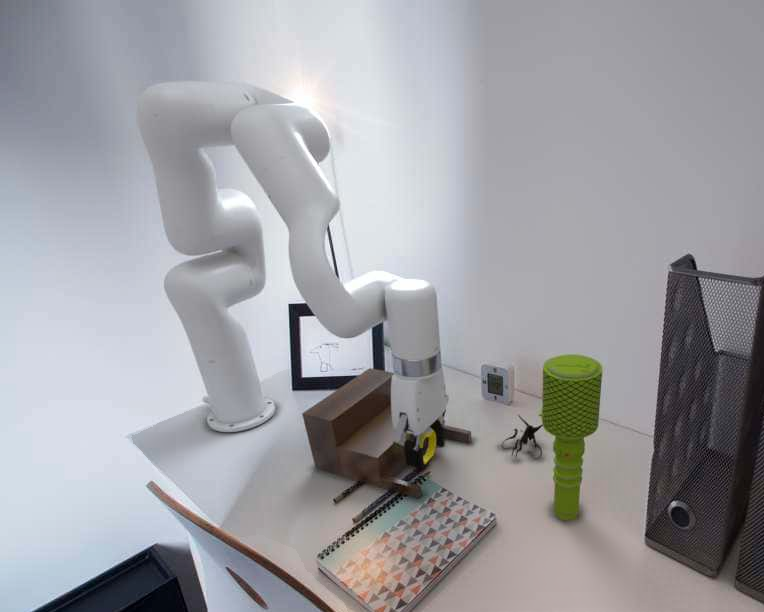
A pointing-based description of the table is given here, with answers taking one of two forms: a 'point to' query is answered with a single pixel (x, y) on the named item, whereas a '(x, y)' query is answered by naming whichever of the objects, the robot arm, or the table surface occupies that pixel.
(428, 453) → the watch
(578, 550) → the table surface
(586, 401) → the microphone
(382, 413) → the step shelf
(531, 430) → the creature
